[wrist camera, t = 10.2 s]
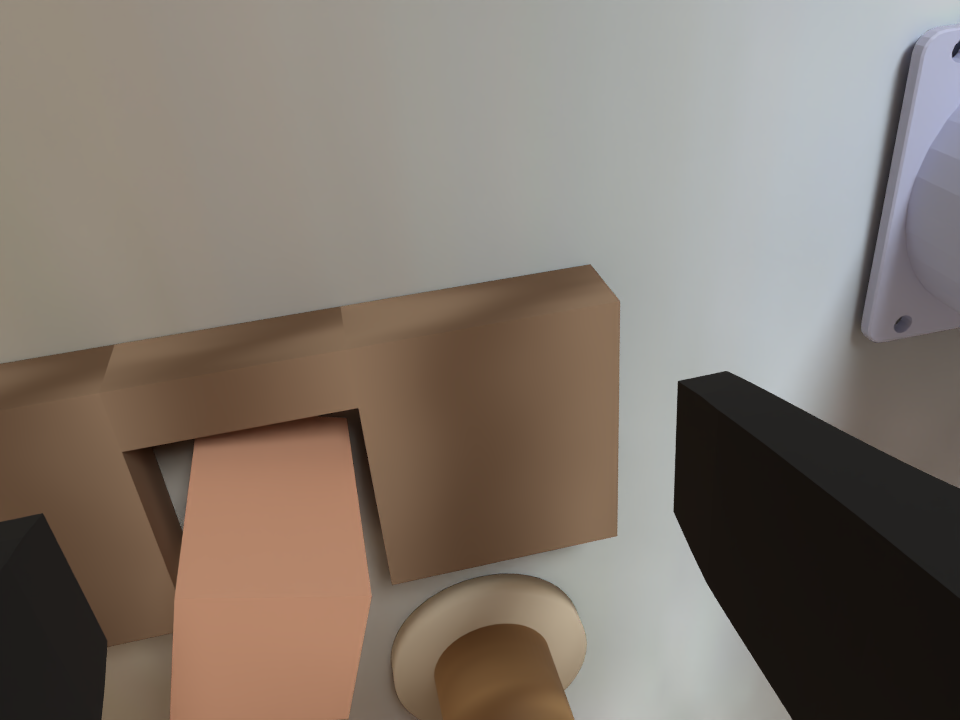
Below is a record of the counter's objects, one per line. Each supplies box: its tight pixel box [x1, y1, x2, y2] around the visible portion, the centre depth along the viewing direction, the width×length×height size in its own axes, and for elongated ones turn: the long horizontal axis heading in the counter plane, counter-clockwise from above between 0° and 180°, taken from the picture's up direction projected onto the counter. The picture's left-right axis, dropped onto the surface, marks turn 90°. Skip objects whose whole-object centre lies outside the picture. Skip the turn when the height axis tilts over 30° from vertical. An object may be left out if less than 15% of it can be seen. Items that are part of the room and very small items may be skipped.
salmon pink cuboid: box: [170, 416, 372, 720], centre depth 18 cm, size 4×4×6 cm
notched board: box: [0, 264, 620, 647], centre depth 20 cm, size 15×7×2 cm, turn 95°
